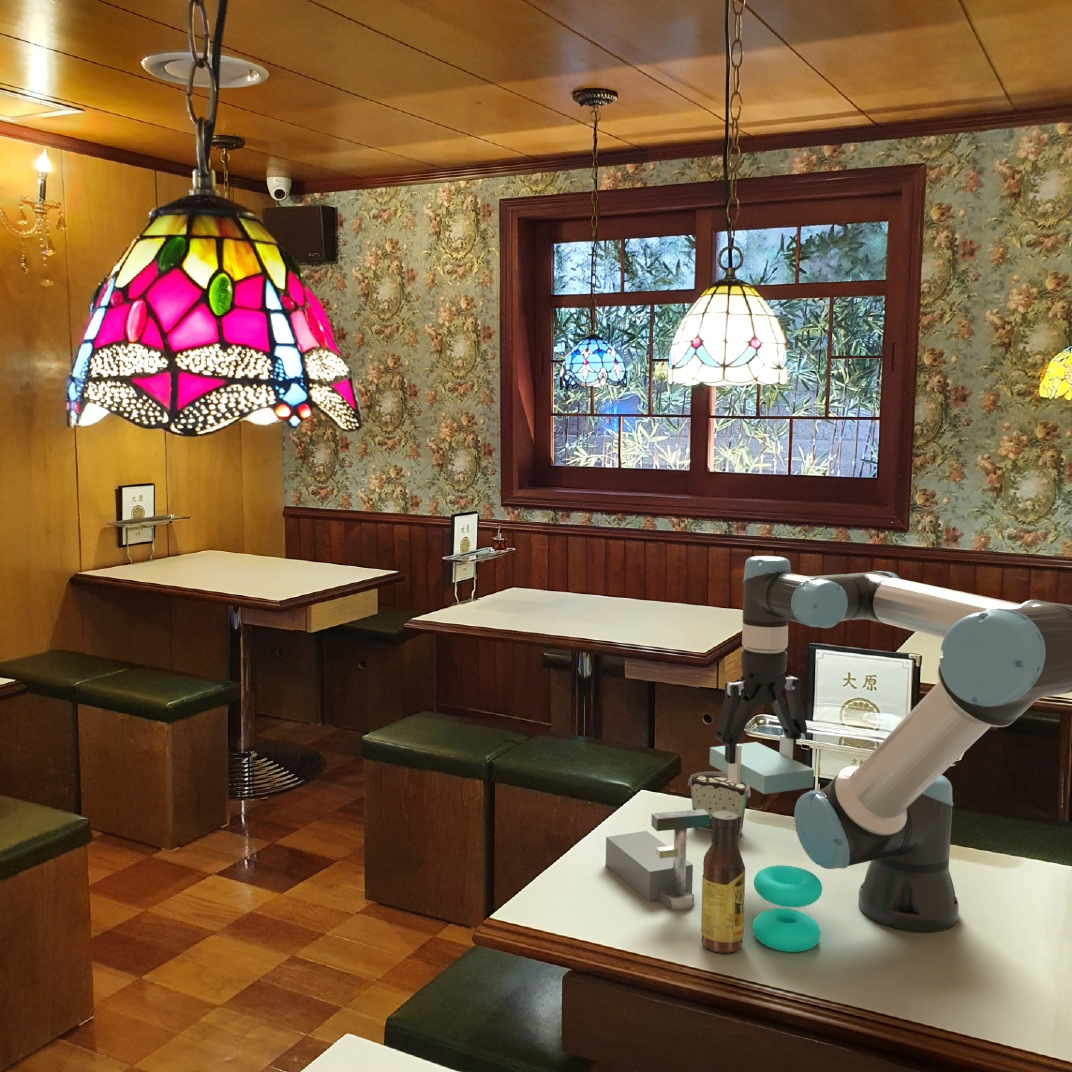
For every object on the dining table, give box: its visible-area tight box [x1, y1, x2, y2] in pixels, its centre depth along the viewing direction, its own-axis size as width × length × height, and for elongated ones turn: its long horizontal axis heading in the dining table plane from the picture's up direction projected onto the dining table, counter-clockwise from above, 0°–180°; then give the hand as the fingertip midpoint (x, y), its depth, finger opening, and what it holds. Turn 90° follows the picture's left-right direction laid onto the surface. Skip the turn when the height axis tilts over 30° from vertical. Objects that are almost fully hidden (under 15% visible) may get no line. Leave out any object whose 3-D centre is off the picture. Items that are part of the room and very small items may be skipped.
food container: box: [687, 771, 752, 838], centre depth 209 cm, size 12×6×10 cm, turn 58°
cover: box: [709, 741, 815, 795], centre depth 185 cm, size 17×10×3 cm, turn 23°
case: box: [605, 830, 695, 911], centre depth 183 cm, size 21×8×5 cm, turn 23°
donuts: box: [751, 865, 823, 953], centre depth 164 cm, size 10×10×10 cm
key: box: [650, 809, 710, 895], centre depth 175 cm, size 9×2×13 cm, turn 105°
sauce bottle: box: [700, 811, 746, 954], centre depth 161 cm, size 6×6×20 cm
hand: (759, 777), depth 185 cm, fingers closed on cover, 10 cm apart
